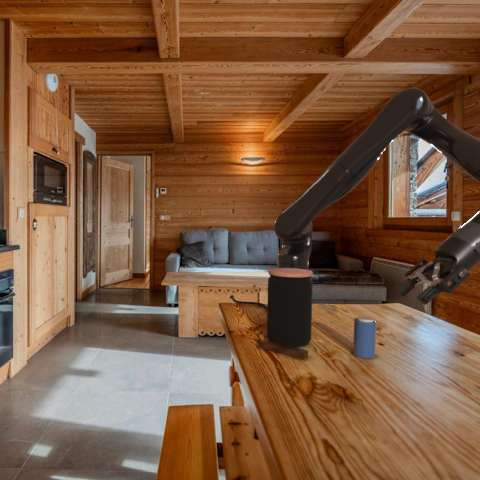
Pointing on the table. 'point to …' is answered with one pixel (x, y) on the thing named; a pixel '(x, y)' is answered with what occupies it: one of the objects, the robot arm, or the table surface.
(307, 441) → the table surface
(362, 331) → the salt shaker
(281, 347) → the walnut stick
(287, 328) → the coffee jar
